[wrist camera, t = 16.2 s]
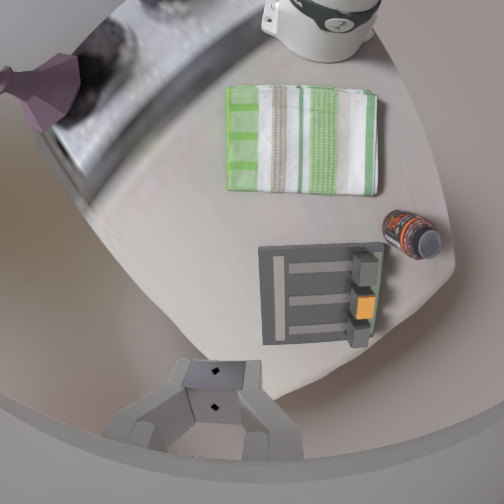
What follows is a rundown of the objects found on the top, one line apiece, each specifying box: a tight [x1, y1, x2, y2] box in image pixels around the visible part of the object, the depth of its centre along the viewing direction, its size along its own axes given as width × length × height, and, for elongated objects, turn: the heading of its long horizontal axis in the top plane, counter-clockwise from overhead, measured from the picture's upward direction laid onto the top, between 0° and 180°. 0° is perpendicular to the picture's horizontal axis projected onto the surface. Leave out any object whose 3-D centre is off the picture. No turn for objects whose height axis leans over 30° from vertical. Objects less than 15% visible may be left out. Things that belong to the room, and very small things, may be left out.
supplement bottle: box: [382, 210, 441, 260], centre depth 36 cm, size 6×6×11 cm
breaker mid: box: [349, 286, 375, 319], centre depth 40 cm, size 4×3×4 cm
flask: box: [0, 53, 81, 132], centre depth 27 cm, size 16×16×20 cm
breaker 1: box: [352, 253, 379, 287], centre depth 39 cm, size 4×3×4 cm
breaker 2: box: [346, 316, 371, 348], centre depth 42 cm, size 4×3×4 cm
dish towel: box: [226, 85, 378, 197], centre depth 37 cm, size 17×23×4 cm
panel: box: [258, 242, 385, 345], centre depth 44 cm, size 17×20×2 cm
